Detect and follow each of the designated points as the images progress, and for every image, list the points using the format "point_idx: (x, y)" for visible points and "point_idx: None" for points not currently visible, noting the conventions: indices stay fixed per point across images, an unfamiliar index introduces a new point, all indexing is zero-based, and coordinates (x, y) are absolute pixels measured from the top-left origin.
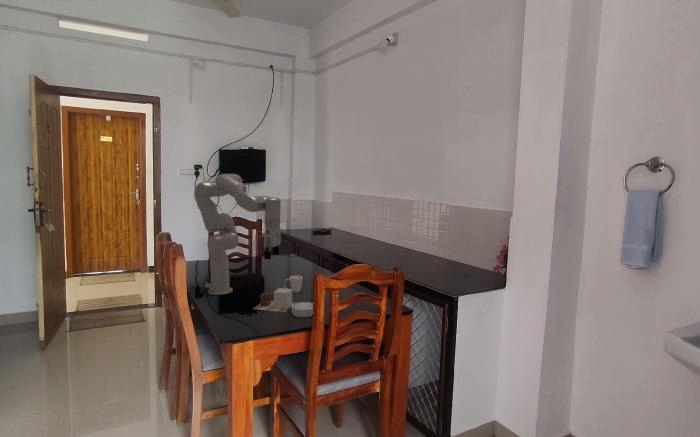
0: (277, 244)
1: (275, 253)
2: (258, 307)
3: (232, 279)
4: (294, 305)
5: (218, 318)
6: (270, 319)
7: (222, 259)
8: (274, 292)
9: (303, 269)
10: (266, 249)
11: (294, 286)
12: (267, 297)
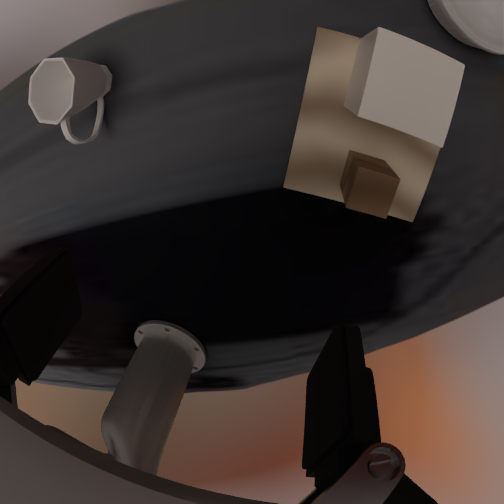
0: (66, 469)
1: (67, 296)
2: (394, 200)
3: None
4: (488, 36)
5: (440, 308)
6: (491, 139)
7: (147, 442)
8: (442, 143)
9: None
10: (407, 494)
11: (97, 84)
12: (396, 175)
